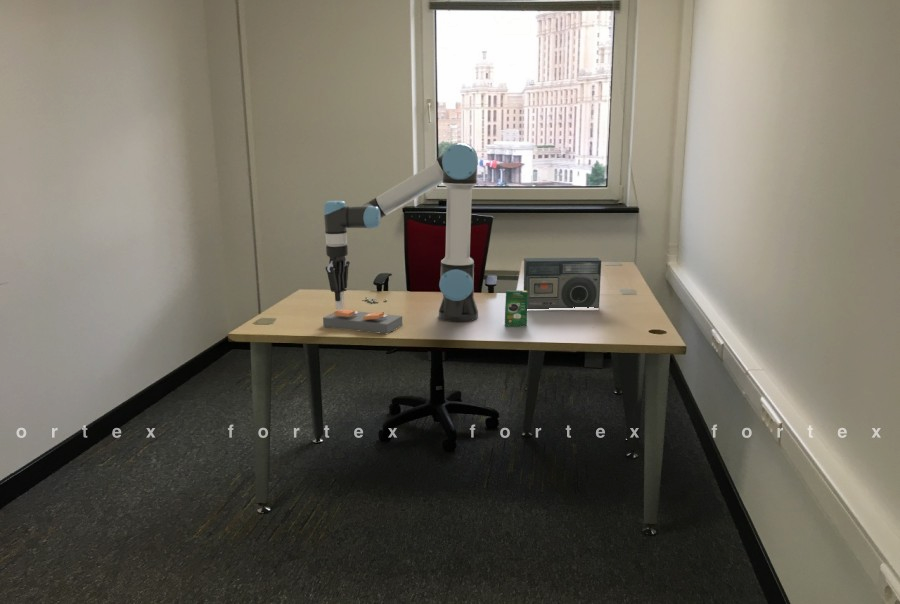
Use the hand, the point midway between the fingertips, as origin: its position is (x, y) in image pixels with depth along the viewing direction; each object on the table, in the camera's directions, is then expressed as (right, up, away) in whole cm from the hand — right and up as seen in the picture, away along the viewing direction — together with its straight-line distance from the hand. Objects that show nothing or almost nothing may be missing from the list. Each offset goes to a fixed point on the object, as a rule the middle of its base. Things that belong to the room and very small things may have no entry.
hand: (340, 309), depth 243 cm
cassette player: (+84, 0, +24) cm, 88 cm away
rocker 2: (+13, -2, -5) cm, 14 cm away
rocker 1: (+2, -1, 0) cm, 2 cm away
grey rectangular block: (+8, -6, +1) cm, 10 cm away
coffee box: (+64, -6, 0) cm, 64 cm away
